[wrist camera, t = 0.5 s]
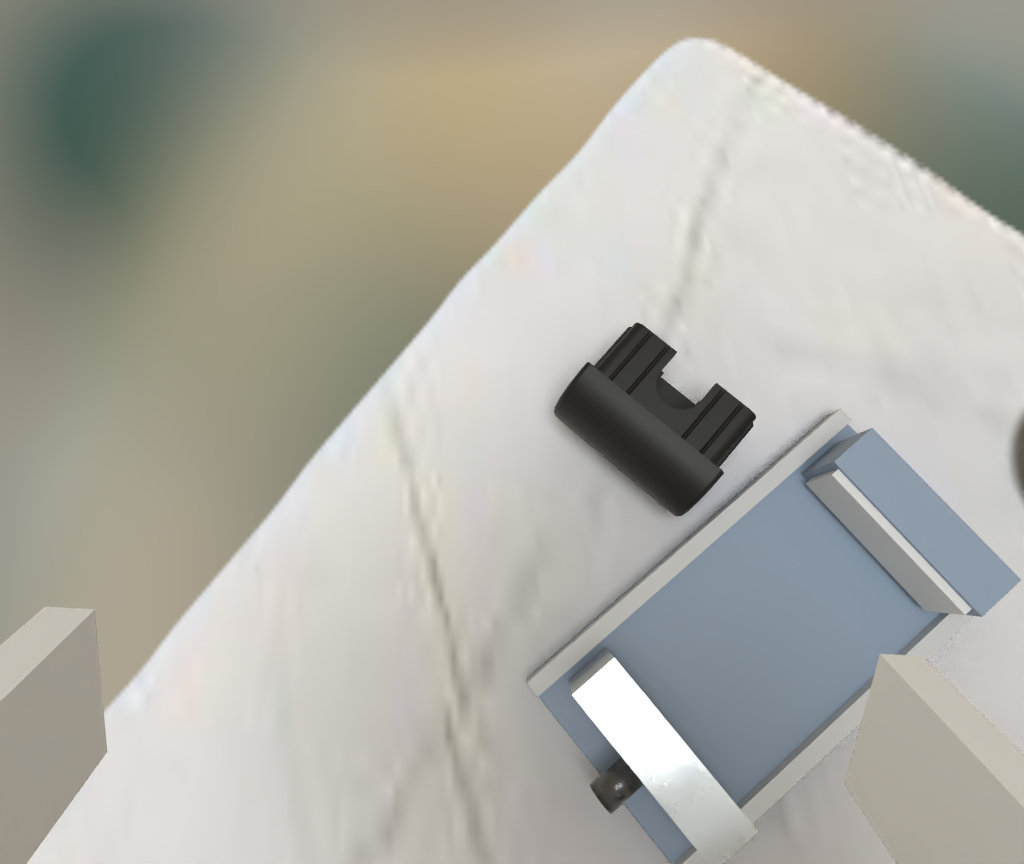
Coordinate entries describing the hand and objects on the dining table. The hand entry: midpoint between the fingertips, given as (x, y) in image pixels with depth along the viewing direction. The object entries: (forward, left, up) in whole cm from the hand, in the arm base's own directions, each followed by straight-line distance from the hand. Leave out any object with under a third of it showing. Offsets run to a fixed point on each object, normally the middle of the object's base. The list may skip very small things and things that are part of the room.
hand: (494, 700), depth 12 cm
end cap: (+4, -13, -33) cm, 36 cm away
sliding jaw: (-10, +1, -32) cm, 33 cm away
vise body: (-10, -10, -33) cm, 36 cm away
